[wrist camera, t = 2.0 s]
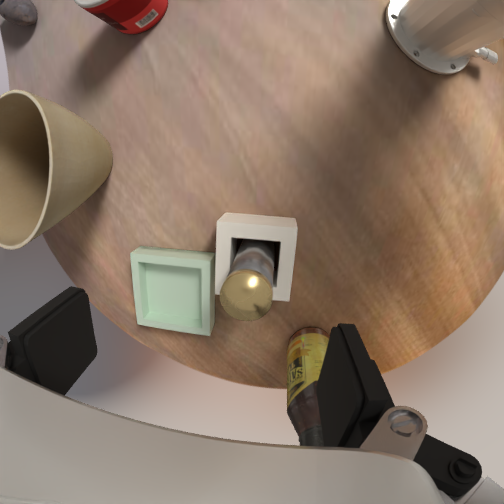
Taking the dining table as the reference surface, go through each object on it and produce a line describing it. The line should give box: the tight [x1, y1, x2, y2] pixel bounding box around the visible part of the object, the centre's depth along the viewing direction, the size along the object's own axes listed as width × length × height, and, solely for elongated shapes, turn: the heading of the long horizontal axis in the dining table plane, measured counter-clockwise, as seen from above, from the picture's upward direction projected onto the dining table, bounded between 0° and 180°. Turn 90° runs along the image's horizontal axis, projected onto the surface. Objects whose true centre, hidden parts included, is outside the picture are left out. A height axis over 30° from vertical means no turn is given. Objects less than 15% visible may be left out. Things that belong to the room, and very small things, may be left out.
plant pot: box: [0, 90, 113, 249], centre depth 26 cm, size 15×15×16 cm
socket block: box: [215, 212, 298, 301], centre depth 33 cm, size 8×8×5 cm
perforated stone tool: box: [0, 0, 37, 26], centre depth 22 cm, size 15×5×7 cm, turn 42°
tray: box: [130, 246, 216, 336], centre depth 36 cm, size 10×10×3 cm
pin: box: [220, 238, 275, 321], centre depth 29 cm, size 4×4×13 cm
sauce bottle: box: [287, 327, 330, 447], centre depth 29 cm, size 6×6×20 cm
